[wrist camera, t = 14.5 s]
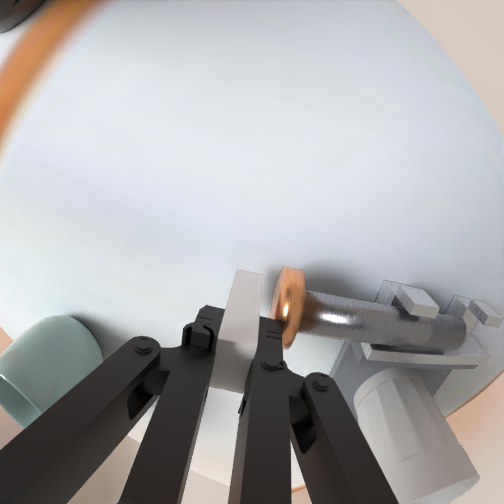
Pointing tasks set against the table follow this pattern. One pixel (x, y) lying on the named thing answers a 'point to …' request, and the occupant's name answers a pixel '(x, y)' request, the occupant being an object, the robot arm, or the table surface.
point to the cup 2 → (412, 439)
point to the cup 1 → (45, 366)
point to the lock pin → (357, 318)
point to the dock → (360, 369)
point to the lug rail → (425, 306)
